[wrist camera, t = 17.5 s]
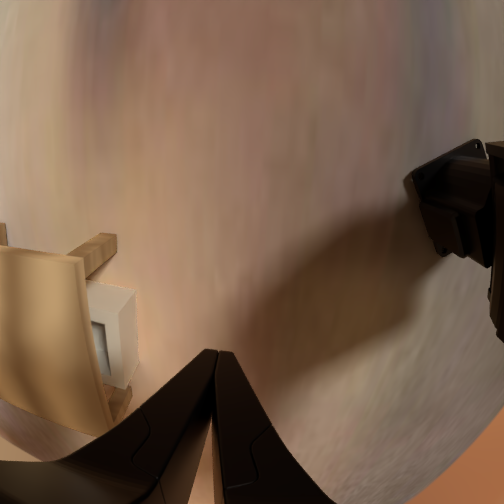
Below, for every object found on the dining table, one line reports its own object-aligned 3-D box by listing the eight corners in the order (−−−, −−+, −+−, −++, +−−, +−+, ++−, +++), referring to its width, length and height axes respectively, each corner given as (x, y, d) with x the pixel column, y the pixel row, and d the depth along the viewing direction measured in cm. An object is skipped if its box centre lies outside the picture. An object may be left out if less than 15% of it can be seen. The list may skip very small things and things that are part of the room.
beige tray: (137, 289, 21) (118, 313, 17) (139, 360, 23) (125, 389, 20) (28, 265, 20) (3, 283, 17) (40, 332, 23) (19, 354, 19)
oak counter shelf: (116, 234, 19) (74, 264, 14) (132, 395, 24) (112, 441, 19) (-4, 222, 19) (-50, 242, 14) (27, 364, 24) (-1, 397, 18)
